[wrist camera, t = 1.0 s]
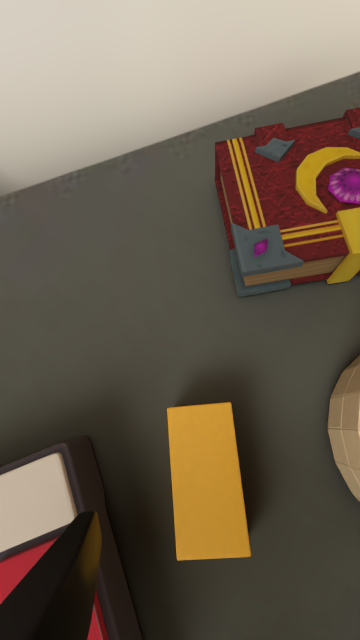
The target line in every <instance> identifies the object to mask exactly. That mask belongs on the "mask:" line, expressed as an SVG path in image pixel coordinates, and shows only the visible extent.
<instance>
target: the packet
mask: <svg viewBox="0 0 360 640" xmlns="http://www.w3.org/2000/svg"><path fill="white" fill-rule="evenodd" d="M167 416H168V432H169V447H170V463H171V478H172V493H173V509H174V524H175V539H176V555H177V560H196V559H216V558H235V557H250V556H251V550H250V543H249V535H248V527H247V520H246V512H245V504H244V497H243V489H242V481H241V474H240V466H239V458H238V451H237V443H236V435H235V428H234V420H233V412H232V405H231V402H224V403H213V404H202V405H191V406H179V407H168V408H167Z"/></svg>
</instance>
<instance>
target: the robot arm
mask: <svg viewBox="0 0 360 640" xmlns="http://www.w3.org/2000/svg"><path fill="white" fill-rule="evenodd" d="M101 545H102V536H101V530H100V525H99V519H98V514H97V512H96V511H94V510H92V511H83V512H80V513H79V514H78V515H77V516H76V517H75V518H74V520H73V521H72V522H71V523H70V524H69V525H68V526H67V528H66V529H65V530H64V531H63V532H62V533H61V535H60V536H59V537H58V538H57V539H56V540H55V541H54V543H53V544H52V545H51V546H50V547H49V548H48V550H47V551H46V552H45V553H44V554H43V555H42V556H41V558H40V559H39V560H38V561H37V562H36V563H35V565H34V566H33V567H32V568H31V569H30V570H29V572H28V573H27V574H26V575H25V576H24V577H23V578H22V580H21V581H20V582H19V583H18V584H17V585H16V587H15V588H14V589H13V590H12V591H11V592H10V593H9V595H8V596H7V597H6V598H5V599H4V600H3V602H2V603H1V604H0V640H87V639H88V634H89V630H90V625H91V620H92V613H93V606H94V598H95V591H96V583H97V576H98V568H99V561H100V553H101Z"/></svg>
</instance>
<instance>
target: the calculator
mask: <svg viewBox="0 0 360 640" xmlns="http://www.w3.org/2000/svg"><path fill="white" fill-rule="evenodd" d="M92 510H94V511H96V512H97V514H98V519H99V525H100V530H101V536H102V545H101V553H100V561H99V568H98V576H97V583H96V591H95V598H94V606H93V613H92V620H91V625H90V630H89V634H88V639H87V640H143V639H142V636H141V632H140V629H139V625H138V622H137V618H136V615H135V611H134V607H133V604H132V600H131V597H130V593H129V590H128V586H127V583H126V579H125V576H124V572H123V568H122V565H121V561H120V558H119V554H118V551H117V547H116V544H115V540H114V536H113V533H112V529H111V526H110V522H109V519H108V515H107V512H106V507H105V496H104V488H103V484H102V481H101V477H100V474H99V470H98V467H97V463H96V460H95V456H94V453H93V449H92V446H91V442H90V440H89V438H88V437H86V436H83V437H78V438H75V439H71V440H67V441H63V442H60V443H57V444H55V445H52V446H50V447H47V448H45V449H42V450H40V451H38V452H35V453H33V454H30V455H28V456H25V457H23V458H21V459H18V460H16V461H13V462H11V463H8V464H6V465H3V466H1V467H0V604H1V603H2V602H3V600H4V599H5V598H6V597H7V596H8V595H9V593H10V592H11V591H12V590H13V589H14V588H15V587H16V585H17V584H18V583H19V582H20V581H21V580H22V578H23V577H24V576H25V575H26V574H27V573H28V572H29V570H30V569H31V568H32V567H33V566H34V565H35V563H36V562H37V561H38V560H39V559H40V558H41V556H42V555H43V554H44V553H45V552H46V551H47V550H48V548H49V547H50V546H51V545H52V544H53V543H54V541H55V540H56V539H57V538H58V537H59V536H60V535H61V533H62V532H63V531H64V530H65V529H66V528H67V526H68V525H69V524H70V523H71V522H72V521H73V520H74V518H75V517H76V516H77V515H78V514H79V513H80V512H83V511H92Z"/></svg>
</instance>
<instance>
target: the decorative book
mask: <svg viewBox="0 0 360 640" xmlns="http://www.w3.org/2000/svg"><path fill="white" fill-rule="evenodd" d="M215 183H216V187H217V192H218V196H219V201H220V205H221V210H222V215H223V219H224V224H225V228H226V233H227V237H228V242H229V246H230V249H229V257H230V262H231V267H232V271H233V276H234V281H235V286H236V291H237V295H238V297H242V296H248V295H253V294H259V293H265V292H270V291H276V290H282V289H287V288H289V287H290V286H291V285H295V284H301V283H307V282H313V281H319V280H325V279H326V280H327V283H328V284H332V283H338V282H344V281H349V280H350V279H351V278H352V277H353V276H354V275H355V274H360V108H355V109H350V110H346V112H345V114H344V116H343V118H338V119H333V120H328V121H323V122H318V123H313V124H308V125H303V126H297V127H292V128H287V129H285V127H284V124H283V123H280V124H275V125H270V126H264V127H259V128H255V132H254V135H252V136H247V137H242V138H236V139H231V140H226V141H221V142H216V143H215Z"/></svg>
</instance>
